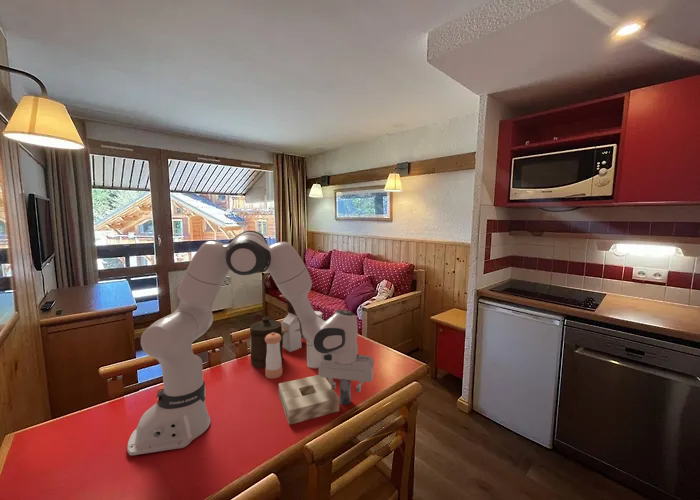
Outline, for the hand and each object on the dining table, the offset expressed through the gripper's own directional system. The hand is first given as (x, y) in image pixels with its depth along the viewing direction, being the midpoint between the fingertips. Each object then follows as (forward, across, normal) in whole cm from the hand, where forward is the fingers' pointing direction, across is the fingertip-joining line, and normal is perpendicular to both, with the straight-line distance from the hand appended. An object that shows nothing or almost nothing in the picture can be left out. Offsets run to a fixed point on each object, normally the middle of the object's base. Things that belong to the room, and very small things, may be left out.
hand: (345, 389), depth 110 cm
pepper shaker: (+5, +35, -13) cm, 38 cm away
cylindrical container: (+5, +20, -25) cm, 33 cm away
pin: (+5, 0, 0) cm, 5 cm away
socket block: (+5, +14, +3) cm, 15 cm away
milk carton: (+5, +38, -40) cm, 55 cm away
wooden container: (+5, +44, -24) cm, 51 cm away
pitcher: (+5, +40, -44) cm, 59 cm away
